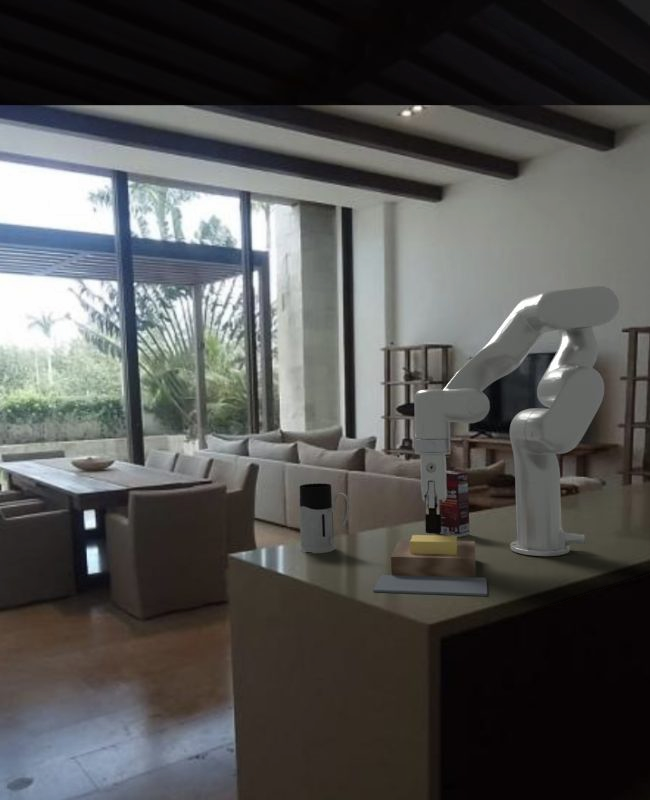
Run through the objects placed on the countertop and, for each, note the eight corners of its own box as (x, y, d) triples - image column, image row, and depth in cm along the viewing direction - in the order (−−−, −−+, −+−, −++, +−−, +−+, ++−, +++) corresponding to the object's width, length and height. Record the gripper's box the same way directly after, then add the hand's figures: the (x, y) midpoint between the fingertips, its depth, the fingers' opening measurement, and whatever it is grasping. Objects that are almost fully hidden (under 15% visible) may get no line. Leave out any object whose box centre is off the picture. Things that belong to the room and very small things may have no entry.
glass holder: (315, 543, 158) (313, 482, 158) (361, 550, 149) (359, 485, 149) (291, 550, 151) (289, 486, 151) (338, 558, 142) (336, 490, 142)
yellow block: (457, 547, 132) (456, 535, 132) (456, 554, 126) (456, 542, 126) (413, 546, 134) (412, 535, 134) (410, 553, 128) (409, 541, 128)
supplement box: (431, 533, 165) (429, 471, 165) (443, 530, 168) (441, 469, 168) (459, 538, 158) (456, 473, 159) (470, 534, 162) (468, 471, 162)
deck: (475, 559, 137) (474, 541, 137) (475, 579, 122) (474, 558, 122) (400, 558, 140) (399, 539, 140) (391, 577, 126) (390, 556, 126)
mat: (486, 579, 122) (486, 577, 122) (487, 596, 112) (487, 593, 112) (381, 576, 126) (381, 574, 126) (373, 591, 116) (373, 589, 116)
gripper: (448, 449, 129) (449, 540, 129) (451, 444, 144) (452, 526, 144) (411, 449, 131) (412, 539, 131) (417, 444, 146) (418, 525, 146)
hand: (433, 532), depth 137 cm, fingers closed
